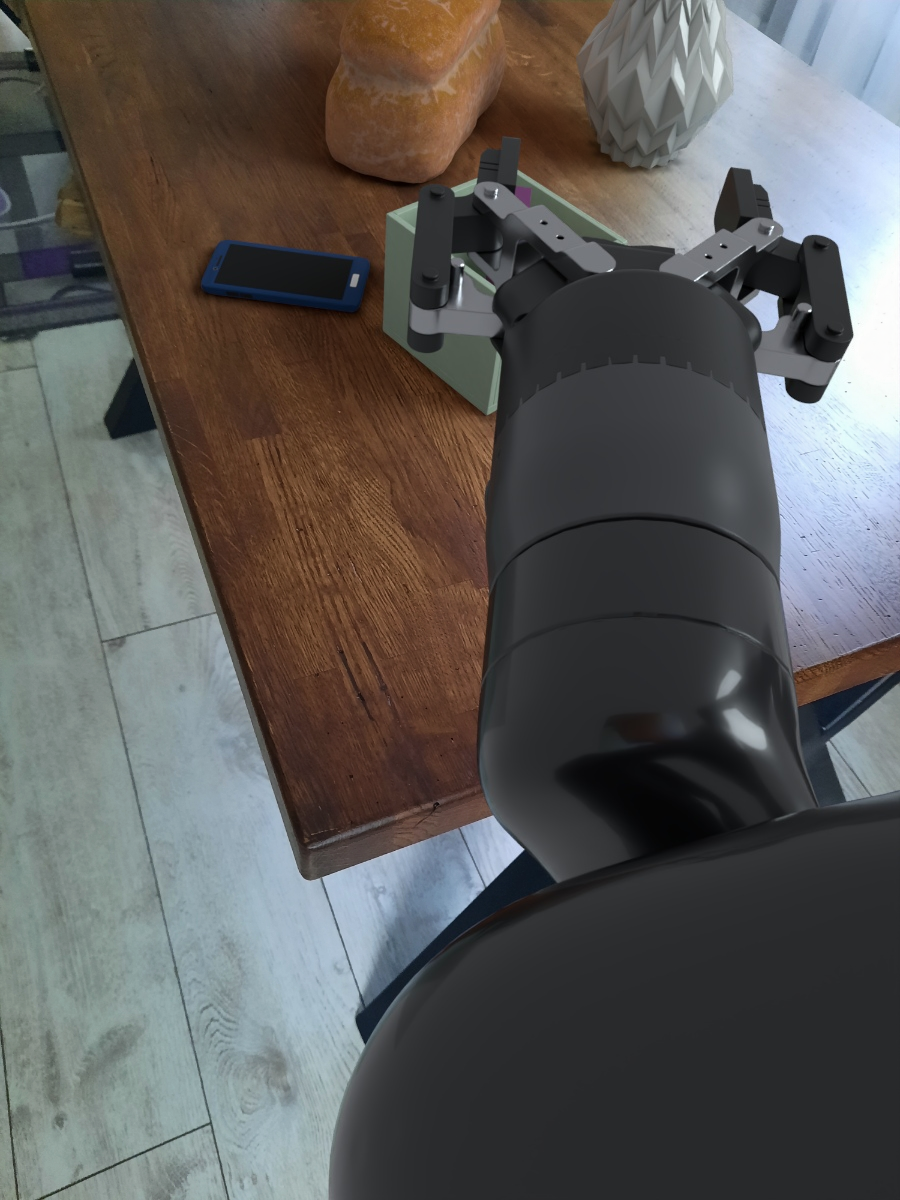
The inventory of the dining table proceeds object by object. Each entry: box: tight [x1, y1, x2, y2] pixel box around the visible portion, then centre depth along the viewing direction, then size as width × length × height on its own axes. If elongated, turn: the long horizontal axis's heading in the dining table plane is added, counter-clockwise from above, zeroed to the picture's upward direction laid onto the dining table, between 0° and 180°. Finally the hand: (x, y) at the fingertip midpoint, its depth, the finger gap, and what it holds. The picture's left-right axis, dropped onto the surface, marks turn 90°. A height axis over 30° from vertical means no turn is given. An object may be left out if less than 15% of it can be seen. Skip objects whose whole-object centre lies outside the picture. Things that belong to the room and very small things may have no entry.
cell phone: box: [200, 239, 371, 313], centre depth 82 cm, size 7×14×1 cm, turn 84°
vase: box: [575, 0, 735, 170], centre depth 94 cm, size 16×16×18 cm
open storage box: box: [382, 169, 628, 416], centre depth 75 cm, size 13×13×11 cm
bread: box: [325, 0, 507, 184], centre depth 95 cm, size 14×26×15 cm, turn 161°
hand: (618, 176), depth 35 cm, fingers open, 8 cm apart
